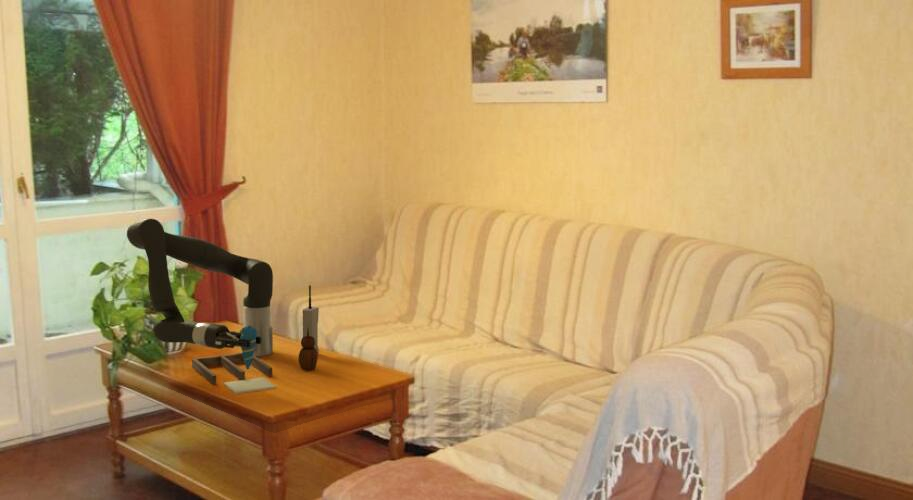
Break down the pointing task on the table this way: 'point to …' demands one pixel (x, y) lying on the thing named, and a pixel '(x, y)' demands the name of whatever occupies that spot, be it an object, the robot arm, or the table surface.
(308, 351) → the wooden figurine
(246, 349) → the ornament
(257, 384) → the pad
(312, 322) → the vintage mobile phone
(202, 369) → the lane rack
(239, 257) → the robot arm
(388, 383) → the table surface
